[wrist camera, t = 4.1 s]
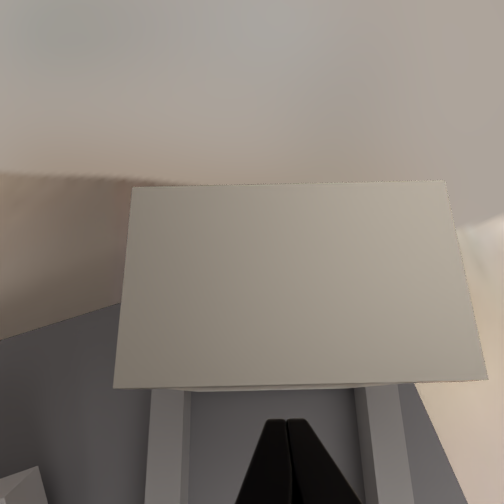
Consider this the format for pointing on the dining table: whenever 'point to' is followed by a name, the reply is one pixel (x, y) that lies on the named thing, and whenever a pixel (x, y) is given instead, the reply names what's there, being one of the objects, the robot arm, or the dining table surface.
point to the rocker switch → (23, 488)
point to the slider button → (294, 288)
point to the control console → (192, 428)
